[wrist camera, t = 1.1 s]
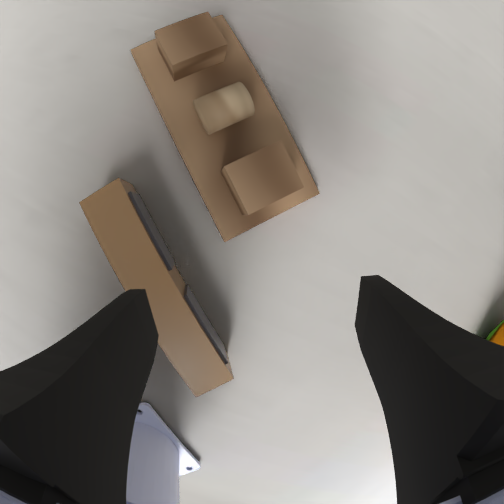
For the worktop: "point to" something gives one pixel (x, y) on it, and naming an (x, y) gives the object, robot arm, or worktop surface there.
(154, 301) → the long wooden plank
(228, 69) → the display stand
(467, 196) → the worktop surface
